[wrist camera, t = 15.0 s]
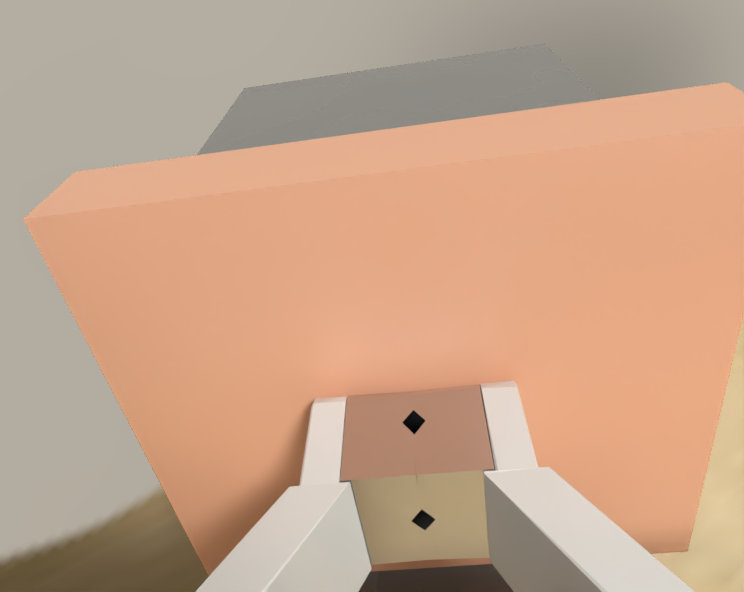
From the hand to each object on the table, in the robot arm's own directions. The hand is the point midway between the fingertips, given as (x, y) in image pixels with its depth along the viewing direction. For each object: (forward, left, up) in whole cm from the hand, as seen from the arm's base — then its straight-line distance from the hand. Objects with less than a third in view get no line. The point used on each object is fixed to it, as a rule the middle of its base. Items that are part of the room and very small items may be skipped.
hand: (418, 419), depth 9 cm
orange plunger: (0, +4, -4) cm, 5 cm away
